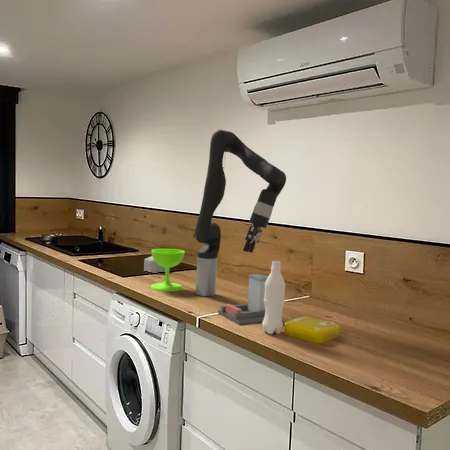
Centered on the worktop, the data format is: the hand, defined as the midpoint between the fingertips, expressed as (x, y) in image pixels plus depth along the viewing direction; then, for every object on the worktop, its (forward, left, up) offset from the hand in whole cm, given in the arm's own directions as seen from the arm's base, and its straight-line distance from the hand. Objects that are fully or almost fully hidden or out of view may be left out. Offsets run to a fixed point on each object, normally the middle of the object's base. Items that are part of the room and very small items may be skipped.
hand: (247, 251), depth 195 cm
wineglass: (-47, -15, -24) cm, 55 cm away
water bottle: (+31, -7, -24) cm, 40 cm away
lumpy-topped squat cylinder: (-90, -4, -24) cm, 93 cm away
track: (+11, -5, -24) cm, 27 cm away
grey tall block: (+11, 0, -22) cm, 25 cm away
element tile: (+37, +5, -25) cm, 45 cm away
